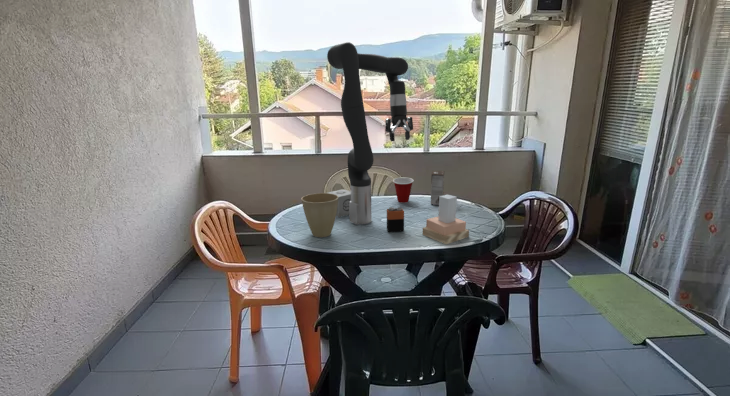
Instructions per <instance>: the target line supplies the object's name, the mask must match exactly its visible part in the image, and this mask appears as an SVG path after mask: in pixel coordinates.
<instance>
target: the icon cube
mask: <svg viewBox="0 0 730 396" xmlns="http://www.w3.org/2000/svg"><path fill="white" fill-rule="evenodd" d="M327 193H331V194H335V195H337V196H338V206H337V213H336V217H337V216H338V217H337V218H342V217H345V216H349V201H351V191H350V190H347V189H344V188H343V189H338V190H333V191H328V192H327ZM341 216H342V217H341Z"/></svg>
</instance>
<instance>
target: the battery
mask: <svg viewBox="0 0 730 396" xmlns="http://www.w3.org/2000/svg"><path fill="white" fill-rule="evenodd" d="M386 230H387V232H388V233H401V232H404V231H405V211H404V209H403V208H402V207H400V206H399V207H397V208H396V207H393V206H390V207H389V208H387V209H386Z"/></svg>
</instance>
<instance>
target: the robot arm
mask: <svg viewBox="0 0 730 396" xmlns="http://www.w3.org/2000/svg"><path fill="white" fill-rule="evenodd" d="M326 55H327V56H326V59H327V62H328V64H329V65H330V66H331V67H332V68H333V69H337V70H343V71H342V72H343V77H344V79H343V80H344V84H343V85H344V86H343V90H342V94H341V99H340V107H341V115H342V118H343V122H344V124H345V127H346V129H347V131H348V133H349V136H350V138H351V141H352V147H353V148H352V149H350V151H349V152H348V155H347V172H348V173H347V174H348V180H349V184H350V186H349V187H350V190H349V191H351V201H349V215H348V216H349V218H348V219H349V220H348V221H349V222H350V223H353V224H354V225H356V226H358V225H368V224H370V223H372V220H373V219H372V178H371V175H369V170H371V168H372V167H373V165H374V159H375V158H374V154H373V151H372V145H371V142H370V138H369V134H368V133H369V132H368V125H367V120H366V112H365V105H364V100H363V95H362V94H363V93H362V87H361V86H362V85H361V79H360V78H361V77H360V70H363V71H368V72H373V73H379V74H385V75H386V79H387V82H388V83H387V84H388V85H389V93H390V94H389V95H390V97H389V109H390V111H389V112H390V116H391V118H385V121H384V123H385V125H384V126H385V133H389V140H390V142H395V131H396V130H397V128H402V129H403V130H404V131H405V132H404V139H405V141H409V140H410V139H411V134H410V133H411V131H412V130H414V122H413V117H412V116H408V117H407V115H408V109H407V108H408V106H407V105H408V104H407V96H406V84H405V82H404V80H400V79H399V76H402V75H405V74H406V73H407V72H408V69H409V63H408V62H407V60H405V59H404V58H403V57H397V56H396V57H394V56H391V57H390V56H384V55H380V54H373V53H359V52H358V50H357V48H356V46H355V45H354V44H353V43H351V42H348V41H347V42H343V43H338V44H334V45H333V46H331V47H330V48H329V49H328V50H327V54H326Z"/></svg>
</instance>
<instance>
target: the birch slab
mask: <svg viewBox="0 0 730 396" xmlns="http://www.w3.org/2000/svg"><path fill="white" fill-rule="evenodd" d="M422 235H423V236H425V237H427V238H430V239H432V240H434V241H436V242H439V243H441V242H442V243H441V244H444V245H449V244H452V243H455V242H457V241H460V240H463V239H466V238H468V237H470V229H465V230H464V231H460V232H457V233H453V234H449V235H445V236H444V235H442V234H440V233H438V232H436V231H433V230H431V229H429V228H427V227H426V226H425V227H422Z"/></svg>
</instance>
